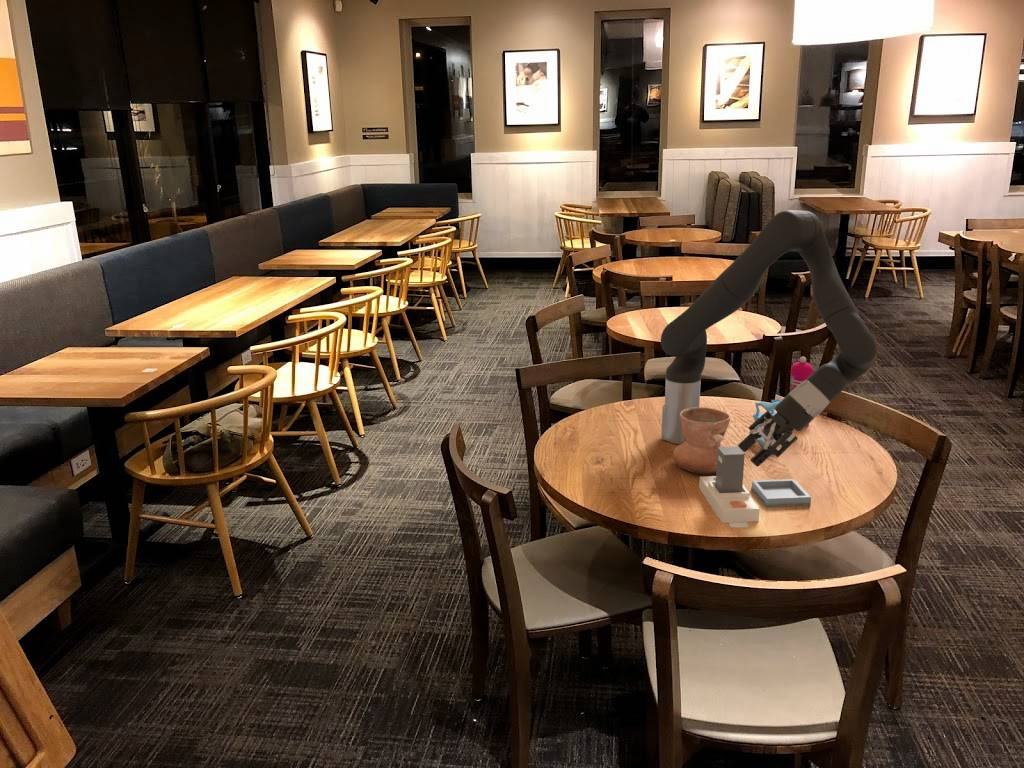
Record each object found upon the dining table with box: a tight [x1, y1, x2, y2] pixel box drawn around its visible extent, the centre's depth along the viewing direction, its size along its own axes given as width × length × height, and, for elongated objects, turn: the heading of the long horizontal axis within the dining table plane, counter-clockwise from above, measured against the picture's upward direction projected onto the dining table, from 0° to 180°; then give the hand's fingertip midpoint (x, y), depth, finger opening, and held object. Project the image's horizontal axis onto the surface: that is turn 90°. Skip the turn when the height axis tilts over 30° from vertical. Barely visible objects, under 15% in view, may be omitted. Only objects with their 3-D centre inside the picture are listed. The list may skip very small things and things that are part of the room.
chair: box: [752, 399, 786, 448], centre depth 219 cm, size 8×8×12 cm
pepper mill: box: [790, 356, 814, 428], centre depth 230 cm, size 7×7×20 cm
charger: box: [715, 445, 746, 493], centre depth 182 cm, size 5×5×10 cm
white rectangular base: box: [698, 475, 761, 524], centre depth 183 cm, size 18×8×4 cm, turn 3°
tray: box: [751, 478, 812, 508], centre depth 187 cm, size 10×10×2 cm
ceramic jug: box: [672, 406, 731, 475], centre depth 203 cm, size 18×14×14 cm
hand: (747, 456), depth 181 cm, fingers open, 8 cm apart
